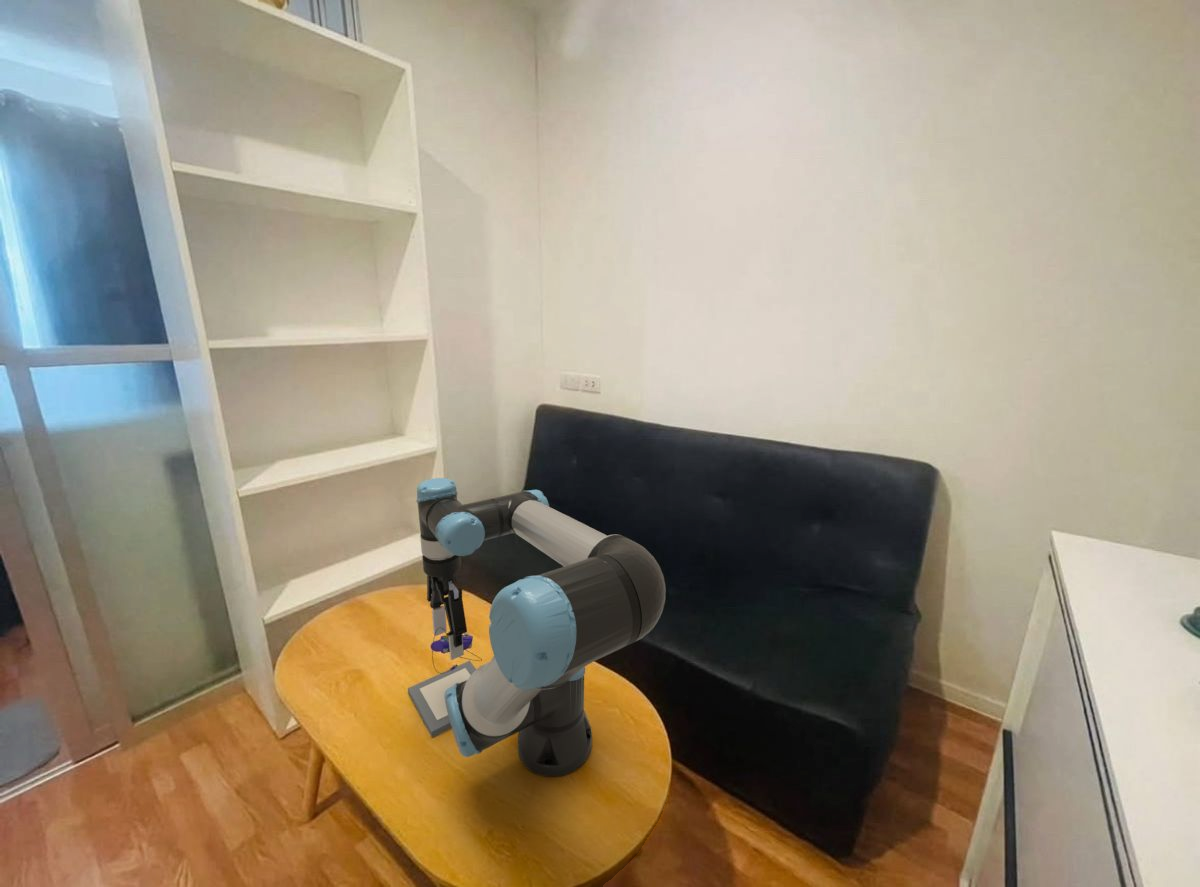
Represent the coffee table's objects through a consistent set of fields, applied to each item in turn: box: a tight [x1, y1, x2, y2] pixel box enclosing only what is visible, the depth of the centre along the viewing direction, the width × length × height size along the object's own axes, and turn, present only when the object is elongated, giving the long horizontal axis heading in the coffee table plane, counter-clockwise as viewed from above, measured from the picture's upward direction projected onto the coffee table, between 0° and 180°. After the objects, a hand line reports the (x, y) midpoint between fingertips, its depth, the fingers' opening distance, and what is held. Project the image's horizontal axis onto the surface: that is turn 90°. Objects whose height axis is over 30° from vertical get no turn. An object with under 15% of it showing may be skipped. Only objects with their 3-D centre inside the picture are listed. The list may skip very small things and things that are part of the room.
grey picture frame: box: [407, 660, 477, 739], centre depth 110 cm, size 15×15×2 cm
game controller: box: [430, 627, 483, 674], centre depth 107 cm, size 10×8×10 cm
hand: (448, 644), depth 107 cm, fingers closed on game controller, 9 cm apart
